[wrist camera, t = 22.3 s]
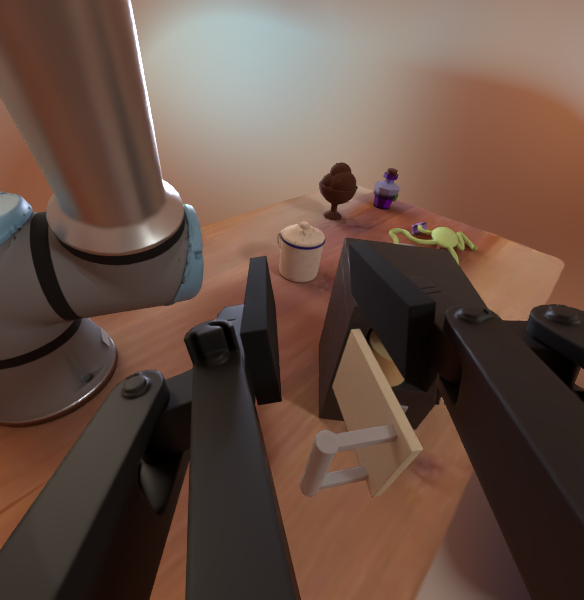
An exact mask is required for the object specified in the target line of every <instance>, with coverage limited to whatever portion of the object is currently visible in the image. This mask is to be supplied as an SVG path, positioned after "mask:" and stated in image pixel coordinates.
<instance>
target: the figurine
mask: <svg viewBox="0 0 584 600" xmlns="http://www.w3.org/2000/svg"><path fill="white" fill-rule="evenodd" d="M411 227H412V234H417V233H418V232H422V233H424V234H427V235H432V240H421V239H417V238H415V237H413V236H412V235H411V234H410V233H409V232H408V231H406V230H404V229H399V228H395V229H392V230H390V232H389V235H390V237H391V238H392V239H393V241H394V242H393V244H398V242H399V240H398V238H397V236H396V235H395V234H394V233H401V234H404V235H405V236H407V238H408V239H409V240H410V241H412V242H414V243H417V244H422V245H437V247H436V249H440V248H441V247H442V248H446V249H447V250H449V251H450V253H451V254H452V256H453V257H454V259H455V260H456V262H457V263H458V265H459V260H458V257H457V254H456V252H455V250H454V249H453V247H455V246H456V247H457V248H458V249H459V250H460V251H463V250H464V242H465V243H466V244H467V245H468V246H469V247H470V248H471V249H472V250H477V248H478V247H477V246H474V245H473V243H472V242H471V241H470V240H469V239H468V238H467V237H466V236H465V235H464V234H463V233H462V232H457V233H456V234H455V233H454V232H453V231H452V230H451V229H449V228H446V227H437V228H436V229H434V230H433V231H429V230H427V225H426V222H421V223H418V224H415V225H413V226H411ZM458 241H459V242H458Z"/></svg>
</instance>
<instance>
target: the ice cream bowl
mask: <svg viewBox="0 0 584 600" xmlns="http://www.w3.org/2000/svg"><path fill="white" fill-rule="evenodd" d="M319 188H320V192H321V194H322V195H323V197H324V198H325V199H326V200H327V201H328V202H330V203H331V205H332V206H331V210H329V211H326V212H325V213H324V217H325V218H328V219H330V220H339V219H341V215H340V214H339V213H338V212H337V211H336V210H337V206H338V204H343V203H346V202H348V201H349V200H351V198H352V197H353V196H354V194H355V192H356V190H357V188H358V187H357V186H356V179H355V177H354V176H353V174H351V169H350V167H349V166H348V165H347V164H345V163H336V164H335V165H334V166H333V167H332V168H331V171H330V173H329V174H327V175H326V176H324V178H323V179H322V180H321V181H320V183H319Z"/></svg>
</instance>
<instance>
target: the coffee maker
mask: <svg viewBox="0 0 584 600" xmlns="http://www.w3.org/2000/svg"><path fill="white" fill-rule="evenodd" d="M358 241H365V242H367V243H368V244H369V245H370V246H371V247H372V248H374V249H375V250H376V251H377V252H378V253H379V254H381V255H382V256H383V257H384V258H385V259H386V260H388V261H389V262H390V263H391V264H392V265H393V266H395V267H396V268H397V269H398V270H399V271H400V272H402V273H403V274H404V275H405V276H406V277H413V276H418V277H421V278H424V279H426V280H429V281H430V282H431V283H433V284H434V285H435V286H436V287H438V288H439V289H440V290H442V292H444V293H446V294H447V295H448V296H450V297H451V298H452V299H453V300H455V301H456V302H457V303H459V304H460V305H475V306H480V307H484V308H486V309H488V308H487V306H486V305H485V303H484V302H483V300H482V299H481V297H480V296H479V294H478V293H477V291H476V290H475V288H474V287H473V285H472V284H471V282H470V281H469V279H468V278H467V276H466V275H465V274H464V272H463V271H462V269H461V268H460V266H459V265H458V263H457V262H456V260H455V259H454V257H453V256H452V254H451V253H450V251H449V250H441V249H433V248H425V247H417V246H409V245H401V244H393V243H385V242H377V241H369V240H361V239H353V238H345V240H344V244H343V248H342V252H341V256H340V260H339V264H338V269H337V273H336V277H335V281H334V285H333V289H332V293H331V298H330V302H329V306H328V310H327V314H326V318H325V322H324V327H323V331H322V335H321V339H320V343H319V418H323V419H331V420H339V421H344V418H343V415H342V413H341V410H340V407H339V404H338V401H337V399H336V396H335V393H334V390H333V388H332V386H333V383H334V380H335V377H336V374H337V371H338V368H339V365H340V362H341V359H342V356H343V353H344V350H345V347H346V344H347V341H348V338H349V335H350V332H351V330H352V329H360V330H361V332H362V334H363V336H364V338H365V340H366V342H367V343H368V345H369V347H370V349H371V351H372V353H373V355H374V357H375V359H376V360H377V362H378V364H379V366H380V368H381V370H382V372H383V374H384V376H385V377H386V379H387V381H388V383H389V385H390V387H391V389H392V391H393V393H394V395H395V396H396V398H397V400H398V402H399V404H400V406H401V408H402V410H403V412H404V413H405V415H406V417H407V419H408V421H409V423H410V425H411V427H412V429H414V430H415V429H416V428H417V427H418V426H419V424H420V423H421V422H422V421H423V419H424V418H425V417H426V416H427V414H428V413H429V412H430V411H431V409H432V408H433V407H434V406H435V399H434V398H435V390H436V382H437V374H438V372H437V370H436V369H435V368H434V367H433V365H432V364H431V363H430V370H429V377H428V378H422V379H416V380H410V381H405V380H404V378H403V377H402V375H401V373H400V372H399V370H398V368H397V367H396V365H395V364H394V362H393V360H392V359H391V357H390V356H389V354H388V352H387V351H386V349H385V348H384V346H383V344H382V343H381V341H380V339H379V338H378V336H377V335H376V333H375V331H374V330H373V328H372V327H371V325H370V323H369V322H368V320H367V319H366V317H365V315H364V314H363V312H362V310H361V309H360V307H359V306H358V304H357V302H356V301H355V299H354V298H353V296H352V294H351V281H350V260H349V243H352V242H358ZM441 397H442V395H441V396H440V398H441Z"/></svg>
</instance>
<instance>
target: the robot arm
mask: <svg viewBox="0 0 584 600" xmlns="http://www.w3.org/2000/svg"><path fill="white" fill-rule="evenodd" d="M0 98H1V99H2V101H3V103H4V105H5V107H6V109H7V110H8V112H9V114H10V116H11V118H12V119H13V121H14V123H15V125H16V126H17V128H18V130H19V132H20V134H21V135H22V137H23V139H24V141H25V143H26V144H27V146H28V148H29V150H30V152H31V153H32V155H33V157H34V159H35V161H36V162H37V164H38V166H39V168H40V170H41V171H42V173H43V175H44V177H45V179H46V180H47V182H48V184H49V186H50V187H51V189H52V191H53V193H54V194H53V196H52V197H51V199H50V200H49V202H48V205H47V209H46V212H39V213H37V212H32V211H33V210H32V207H31V205H30V204H29V203H27V202H26V201H25V200H24V199H23V198H22V197H20V196H19V195H17V194H13V193H9V194H8V193H5V192H0V425H3V426H8V427H27V426H34V425H39V424H43V423H47V422H50V421H53V420H56V419H58V418H61V417H63V416H65V415H67V414H69V413H71V412H73V411H75V410H77V409H78V408H80V407H81V406H83V405H84V404H86V403H87V402H89V401H90V400H91V399H92V398H94V397H95V396H96V395H97V394H98V393H99V392H100V391H101V390H102V389H103V388H104V387H105V386H106V384H107V383H108V382H109V380H110V379H111V377H112V376H113V374H114V372H115V369H116V366H117V362H118V353H117V350H116V347H115V345H114V343H113V341H112V339H111V338H110V337H109V335H108V334H107V332H106V331H105V330H104V329H103V328H102V327H99V326H98V325H97V324H95V323H94V322H93V321H92V320H90V319H89V318H88V317H94V316H100V315H106V314H111V313H118V312H124V311H130V310H137V309H143V308H150V307H156V306H163V305H164V306H169V305H172V304H174V303H176V302H180V301H185V300H189V299H192V298H193V297H195V296H196V295H197V294H198V293H199V291H200V289H201V285H202V280H203V257H202V236H201V230H200V225H199V221H198V217H197V214H196V212H195V210H194V208H193V207H192V206H191V205H188V204H184V203H182V200H181V198H180V196H179V194H178V193H177V191H176V190H175V189H174V188H173V187H172V186H170V185H169V184H168V183H167V182H165V181H163V179H162V173H161V168H160V162H159V157H158V151H157V145H156V140H155V134H154V129H153V123H152V117H151V112H150V106H149V101H148V95H147V89H146V84H145V78H144V72H143V67H142V62H141V56H140V50H139V44H138V39H137V33H136V28H135V22H134V16H133V11H132V5H131V0H0ZM349 260H350V281H351V294H352V296H353V298H354V299H355V301H356V302H357V304H358V306H359V307H360V309H361V310H362V312H363V314H364V315H365V317H366V319H367V320H368V322H369V323H370V325H371V327H372V328H373V330H374V331H375V333H376V335H377V336H378V338H379V339H380V341H381V343H382V344H383V346H384V348H385V349H386V351H387V352H388V354H389V356H390V357H391V359H392V360H393V362H394V364H395V365H396V367H397V368H398V370H399V372H400V373H401V375H402V377H403V378H404V380H405V381H410V380H416V379H422V378H428V377H429V370H430V363H431V364H432V365H433V367H434V368H435V369H436V370H437V372H438V374H437V382H436V390H435V398H434V399H435V404H439V401H440V396H441V395H442V398H443V400H444V404H445V405H446V407H447V409H448V411H449V414H450V416H451V418H452V420H453V423H454V425H455V427H456V429H457V432H458V434H459V436H460V439H461V441H462V443H463V445H464V448H465V450H466V452H467V454H468V457H469V459H470V461H471V463H472V466H473V468H474V470H475V472H476V475H477V477H478V479H479V481H480V483H481V486H482V488H483V490H484V493H485V495H486V497H487V500H488V502H489V504H490V506H491V508H492V511H493V513H494V515H495V518H496V520H497V522H498V525H499V527H500V529H501V531H502V533H503V536H504V538H505V540H506V543H507V545H508V547H509V549H510V552H511V554H512V556H513V559H514V561H515V563H516V565H517V568H518V570H519V572H520V574H521V577H522V579H523V581H524V584H525V586H526V588H527V590H528V592H529V595H530V597H531V599H532V600H584V389H583V388H581V387H579V386H577V385H576V384H575V381H576V379H577V376H578V374H579V371H580V369H581V367H582V368H583V369H584V311H581V310H578V309H575V308H571V307H567V306H565V305H556V304H550V305H540V306H537V307H534V308H533V309H532V310H531V312H530V316H529V319H528V321H504V320H502V319H501V318H500V317H499V316H498V315H497V314H495V313H494V312H493V311H491V310H489V309H486V308H484V307H480V306H475V305H460V304H459V303H457V302H456V301H455V300H453V299H452V298H451V297H450V296H448V295H447V294H446V293H444V292H442V290H440V289H439V288H438V287H436V286H435V285H434V284H433V283H431V282H430V281H429V280H426V279H424V278H421V277H418V276H413V277H406V276H405V275H404V274H403V273H402V272H400V271H399V270H398V269H397V268H396V267H395V266H393V265H392V264H391V263H390V262H389V261H388V260H386V259H385V258H384V257H383V256H382V255H381V254H379V253H378V252H377V251H376V250H375V249H374V248H372V247H371V246H370V245H369V244H368V243H367V242H365V241H358V242H352V243H349ZM184 341H185V344H186V347H187V349H188V352H189V355H190V357H191V360H192V363H193V368H192V369H190V370H189V371H187V372H184V373H182V374H180V375H177V376H174V377H172V378H169V379H166V380H165V379H164V377H163V375H162V373H161V372H159V371H156V370H146V371H142V372H138V373H135V374H133V375H130V376H129V377H127V378H126V379H124V380H123V381H121V382H120V383H118V384H117V385H116V387H115V388H114V389H113V390H112V391H111V392H110V394H109V395H108V397H107V398H106V399H105V401H104V402H103V404H102V405H101V407H100V408H99V409H98V411H97V412H96V414H95V415H94V417H93V418H92V419H91V421H90V422H89V424H88V425H87V427H86V428H85V429H84V431H83V432H82V434H81V435H80V437H79V438H78V439H77V441H76V442H75V444H74V445H73V447H72V448H71V449H70V451H69V452H68V454H67V455H66V457H65V458H64V459H63V461H62V462H61V464H60V465H59V467H58V468H57V469H56V471H55V472H54V474H53V475H52V477H51V478H50V479H49V481H48V482H47V484H46V485H45V487H44V488H43V489H42V491H41V492H40V494H39V495H38V497H37V498H36V499H35V501H34V502H33V504H32V505H31V507H30V508H29V509H28V511H27V512H26V514H25V515H24V517H23V518H22V519H21V521H20V522H19V524H18V525H17V527H16V528H15V529H14V531H13V532H12V534H11V535H10V537H9V538H8V539H7V541H6V542H5V544H4V545H3V547H2V548H1V550H0V600H149V599H150V595H151V592H152V588H153V585H154V581H155V578H156V574H157V571H158V568H159V564H160V561H161V557H162V554H163V550H164V547H165V543H166V540H167V536H168V533H169V529H170V526H171V522H172V519H173V515H174V512H175V508H176V505H177V501H178V498H179V494H180V491H181V487H182V484H183V481H184V477H185V474H186V470H187V467H188V463H189V460H190V471H189V502H188V533H187V564H186V596H185V600H301V598H300V594H299V589H298V585H297V581H296V577H295V572H294V568H293V564H292V560H291V555H290V551H289V547H288V543H287V538H286V534H285V530H284V525H283V521H282V517H281V513H280V508H279V504H278V500H277V496H276V491H275V487H274V483H273V478H272V474H271V470H270V466H269V461H268V457H267V453H266V449H265V444H264V440H263V436H262V432H261V427H260V423H259V419H258V415H257V411H256V407H255V395H256V399H257V403H258V405H263V404H269V403H275V402H281V401H282V398H281V382H280V367H279V352H278V337H277V322H276V307H275V301H274V295H273V290H272V285H271V279H270V274H269V268H268V263H267V257H266V256H262V257H256V258H251V259H250V265H249V272H248V279H247V286H246V293H245V300H244V304H242V305H236V306H230V307H225V308H224V309H223V310H222V311H221V312H220V313H219V314H218V315H217V319H216V320H211V321H207V322H204V323H201V324H199V325H197V326H195V327H194V328H192V329H191V330H190V331H189V332H188V333H186V335H185V338H184Z"/></svg>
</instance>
